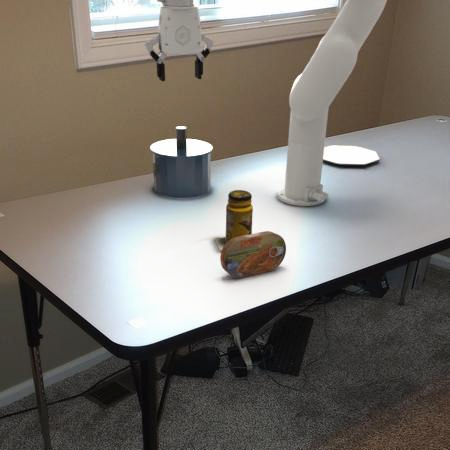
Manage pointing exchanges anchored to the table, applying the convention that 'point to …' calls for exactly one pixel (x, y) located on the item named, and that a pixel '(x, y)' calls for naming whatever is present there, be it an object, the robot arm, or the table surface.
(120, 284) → the table surface
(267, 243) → the tin
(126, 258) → the table surface
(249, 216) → the condiment
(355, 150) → the plate
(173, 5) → the robot arm
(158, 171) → the pot
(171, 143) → the lid
